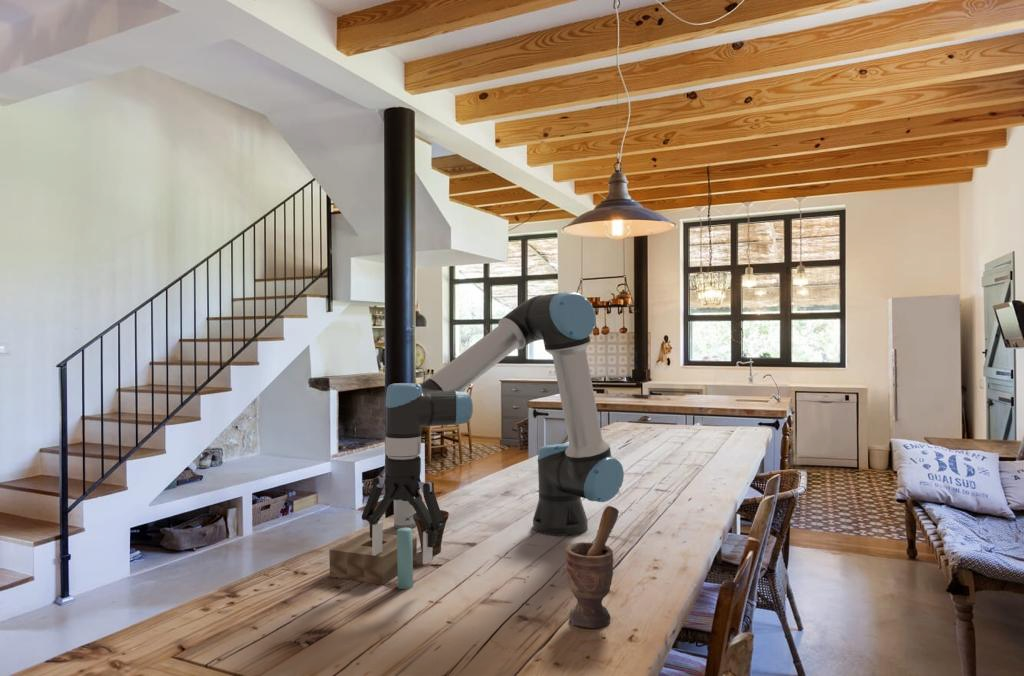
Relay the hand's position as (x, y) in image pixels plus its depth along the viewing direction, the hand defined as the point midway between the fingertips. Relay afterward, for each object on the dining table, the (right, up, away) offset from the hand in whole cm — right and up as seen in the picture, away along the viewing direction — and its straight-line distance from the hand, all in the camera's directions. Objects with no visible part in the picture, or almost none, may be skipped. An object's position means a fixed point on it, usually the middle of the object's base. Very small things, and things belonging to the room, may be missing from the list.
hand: (401, 557), depth 133 cm
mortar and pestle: (+39, -5, -16) cm, 42 cm away
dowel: (+1, -6, 0) cm, 6 cm away
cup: (+3, -6, +22) cm, 23 cm away
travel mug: (-7, -7, +44) cm, 45 cm away
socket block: (-8, -6, +10) cm, 14 cm away
